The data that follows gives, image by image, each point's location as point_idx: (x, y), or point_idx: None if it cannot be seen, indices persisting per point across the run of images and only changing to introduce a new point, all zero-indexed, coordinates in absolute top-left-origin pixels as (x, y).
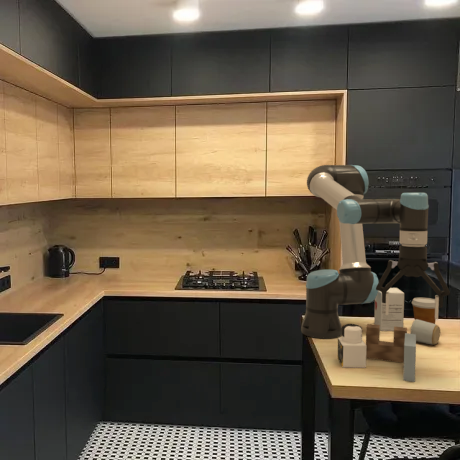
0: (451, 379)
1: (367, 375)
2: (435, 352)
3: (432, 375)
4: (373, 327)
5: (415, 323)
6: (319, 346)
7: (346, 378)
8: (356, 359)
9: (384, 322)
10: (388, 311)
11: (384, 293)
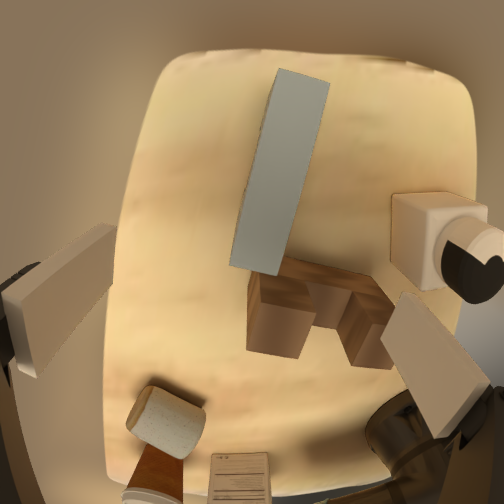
0: (150, 135)
1: (397, 136)
2: (152, 342)
3: (198, 156)
4: None
5: (188, 442)
6: None
7: (448, 117)
8: (429, 196)
9: (257, 469)
10: (397, 324)
11: (485, 393)
